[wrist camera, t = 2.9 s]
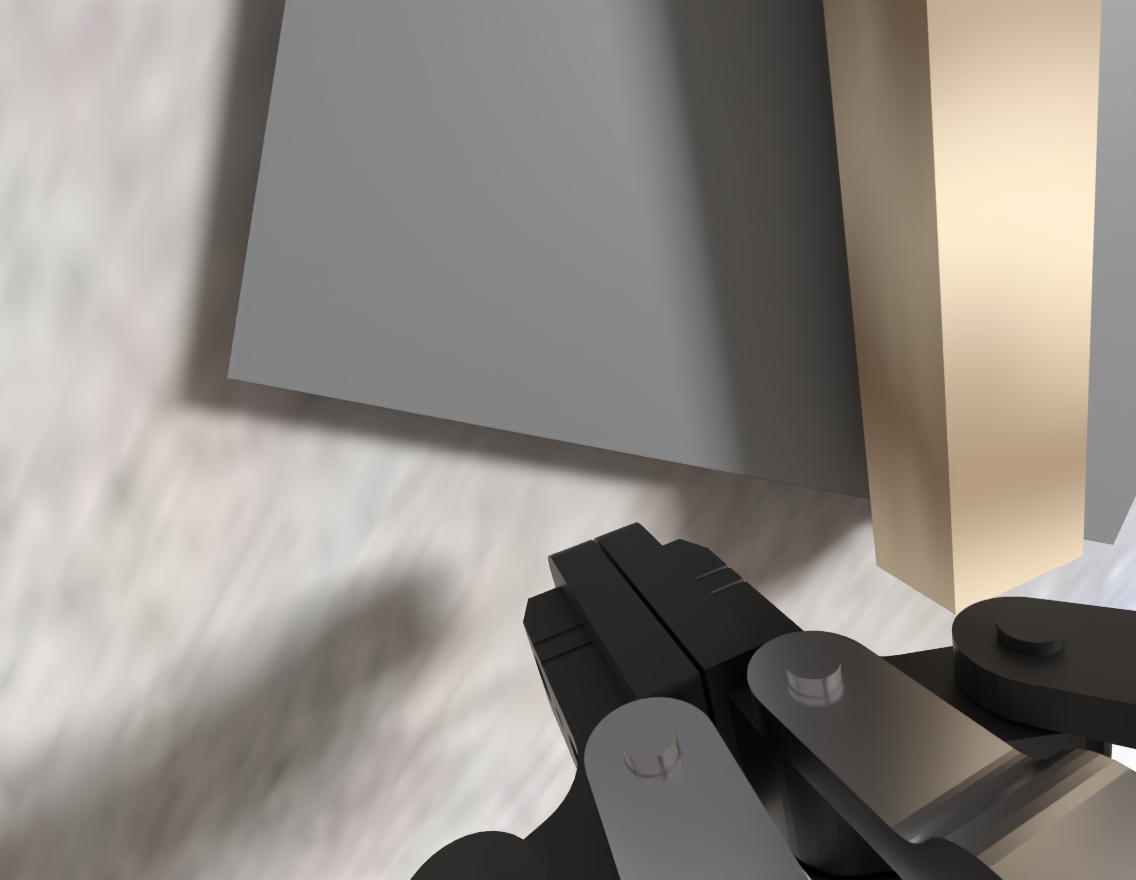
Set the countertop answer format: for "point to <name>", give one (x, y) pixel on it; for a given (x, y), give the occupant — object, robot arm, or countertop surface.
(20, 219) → the countertop surface
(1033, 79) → the latch bar
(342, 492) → the countertop surface
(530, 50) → the board
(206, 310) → the countertop surface
